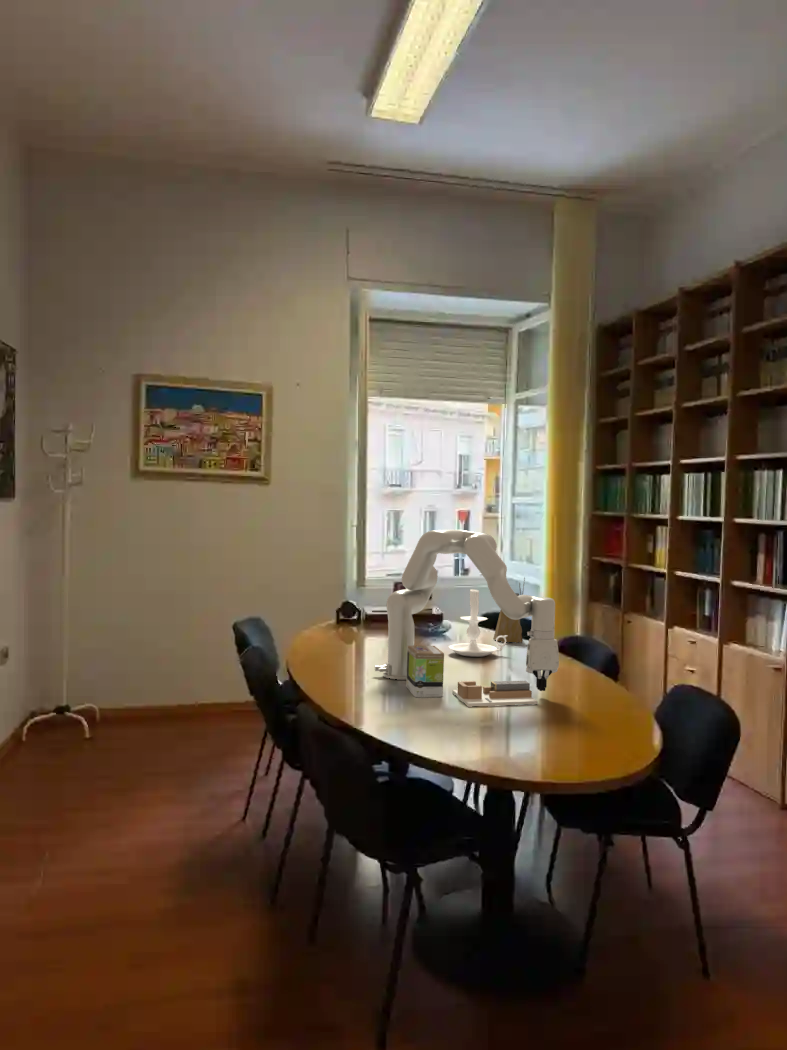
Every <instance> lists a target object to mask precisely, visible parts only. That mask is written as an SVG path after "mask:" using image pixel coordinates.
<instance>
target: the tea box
mask: <svg viewBox="0 0 787 1050" xmlns="http://www.w3.org/2000/svg"><path fill="white" fill-rule="evenodd" d="M444 671H445V652H443V651H442V650H440V648H438V647H437V646H436V645H414V646H408V651H407V680H406V688H407V689H408V691H409V692H410V693H411V694H412V696H413V697H415V698H442V697H443V694H444Z"/></svg>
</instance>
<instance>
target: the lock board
mask: <svg viewBox="0 0 787 1050" xmlns="http://www.w3.org/2000/svg"><path fill="white" fill-rule="evenodd" d="M532 691H533V690H531V689H530V690H516V691H491V685H490V686H482V685H477V681H475V680H464V681H463V680H461V681H457V689H452V695H454V696H455V695H456V696H457V697H458V698H459V699H458V698H457V697H456V696H455V697H456V698H457V699H458V700H459V701H460V702H462V703H463V702H464V703H465V704H466V705H467V706H466V707H468V708H473V707H472V706H488V707H496V706H495V705H515V704H537V705H538V700H536V699H535V698H534V697H532V696H533V694H532V693H533V692H532ZM464 703H463V704H464ZM465 704H464V705H465Z"/></svg>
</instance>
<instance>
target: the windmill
mask: <svg viewBox="0 0 787 1050" xmlns="http://www.w3.org/2000/svg"><path fill="white" fill-rule="evenodd" d="M523 582H526V578H525V576H524V578H523ZM521 585H522V584H521V580H518V587H519V592H515V594H516V595H517V596H519V595H524V590H525V587H524V586H525V583H523V585H522V588H521ZM521 589H522V590H521ZM522 633H523V629H522V626H521V619H518V620H514V619H511V618H509V617H507V616H506V615H505V614H504V613H503V612H502V610H501V609H500V611H499V615H498V620H497V623H496V627H495V631H494V634H493V637H492V638H493V640H494V639H495V640H496V638H497V637H498V636H505V635H508V636H507V637H506V642H516V644H517V643H518V642H519V643H523V642H524V639H523V634H522ZM495 640H494V641H495ZM498 641H502V642H501V643H504V642H505V640H504V638H502V637H500V638H498V640H497V642H498ZM522 641H523V642H522Z"/></svg>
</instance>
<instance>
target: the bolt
mask: <svg viewBox="0 0 787 1050" xmlns="http://www.w3.org/2000/svg"><path fill="white" fill-rule="evenodd" d="M530 685H531V683H530V682H528V681H527V680H507V681H506V680H504V681H503V680H497V681H494V680H492V681H491V680H490V686H491V691H516V690H531V689H530V687H531V686H530Z"/></svg>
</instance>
